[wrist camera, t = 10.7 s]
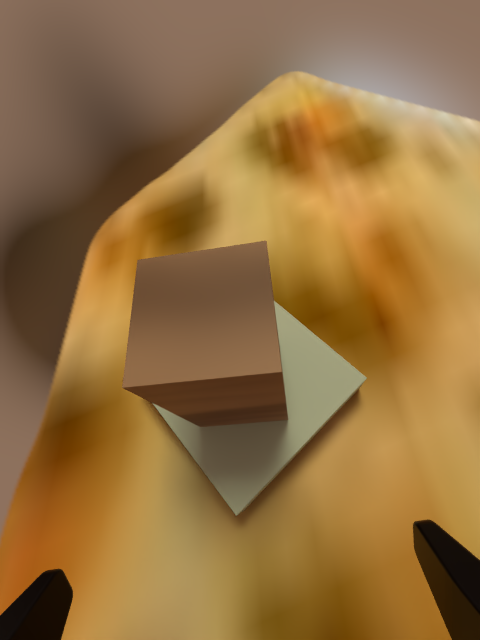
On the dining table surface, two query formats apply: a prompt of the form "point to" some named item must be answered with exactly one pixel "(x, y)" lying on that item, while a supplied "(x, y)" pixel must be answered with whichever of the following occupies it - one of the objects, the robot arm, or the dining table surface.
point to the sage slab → (275, 436)
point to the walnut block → (207, 337)
